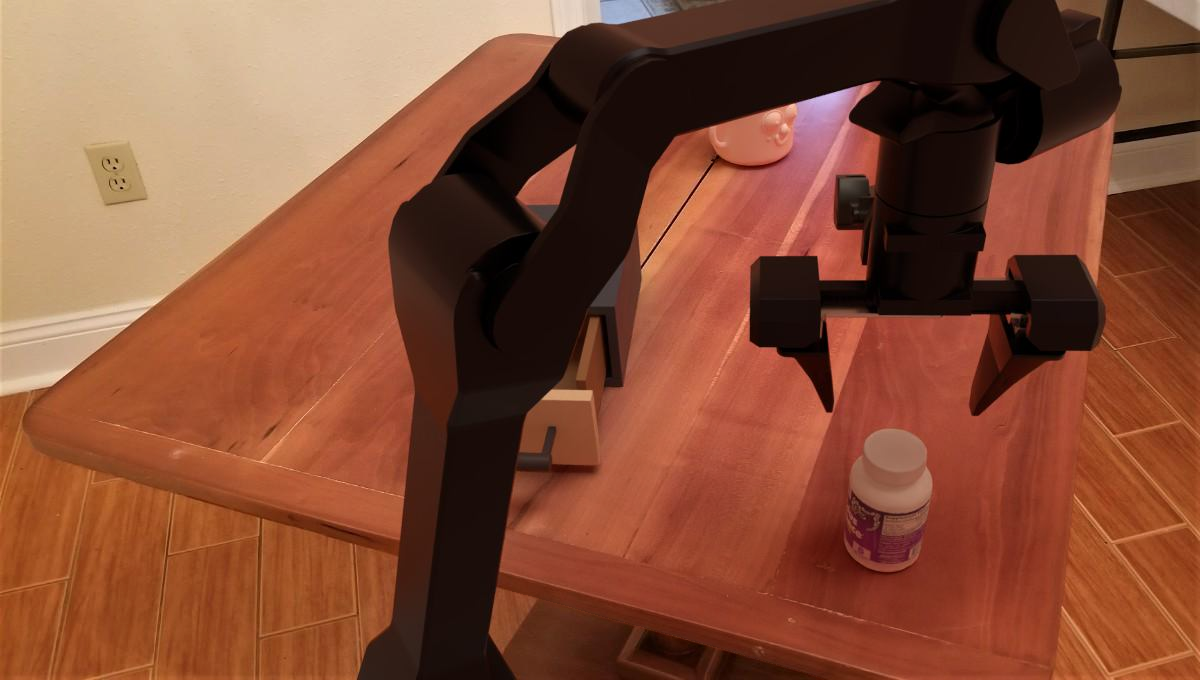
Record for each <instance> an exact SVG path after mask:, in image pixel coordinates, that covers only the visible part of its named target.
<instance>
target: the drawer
mask: <svg viewBox="0 0 1200 680" xmlns="http://www.w3.org/2000/svg"><path fill="white" fill-rule="evenodd" d="M609 357H610V353H609V344H608V335H607V326H606V317H605V315H586V318H585V321H584V324H583V326H582V329H581V332H580V335H579V338H578V340H577V343H576V346H575V349H574V352H573V354H572V357H571V360H570V363H569V366H568V368H567V371H566V373H565V375H564V377H563V378H562V380H561V381H560V382H559V383H558V384H557V385H556V386H555V387H554V388H553V389H552V390H551V391H550V392H549V393H547V394H546V395H545V396H544V397H543V398H542V399H541V400H540V401H539V402H538V403H537V404H536V405H535V406H534V407H533V408H532V409H531V410H530V411H529V412H528V413H527V416H526V419H525V422H524V427H523V433H522V439H521V445H520V451H519V457H518V463H517V469H516V472H529V473H551V471H552V469H553V465H571V466H572V465H573V466H574V465H575V466H600V463H601V457H602V451H601V443H600V437H599V436H600V435H599V434H600V433H599V429H598V428H599V427H598V418H599V413H600V407H601V402H602V397H603V392H604V387H605V386H604V382H605V377H606V372H607V367H608V362H609Z"/></svg>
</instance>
